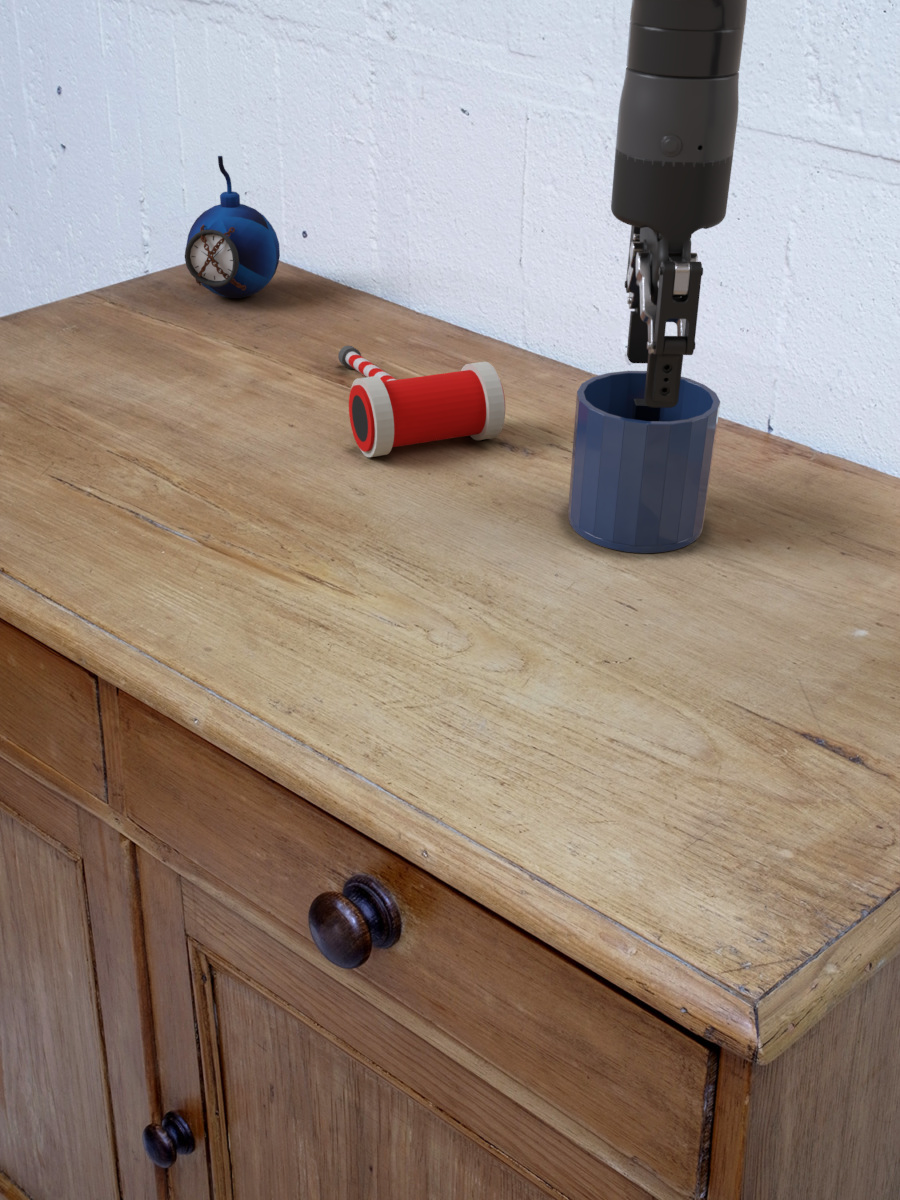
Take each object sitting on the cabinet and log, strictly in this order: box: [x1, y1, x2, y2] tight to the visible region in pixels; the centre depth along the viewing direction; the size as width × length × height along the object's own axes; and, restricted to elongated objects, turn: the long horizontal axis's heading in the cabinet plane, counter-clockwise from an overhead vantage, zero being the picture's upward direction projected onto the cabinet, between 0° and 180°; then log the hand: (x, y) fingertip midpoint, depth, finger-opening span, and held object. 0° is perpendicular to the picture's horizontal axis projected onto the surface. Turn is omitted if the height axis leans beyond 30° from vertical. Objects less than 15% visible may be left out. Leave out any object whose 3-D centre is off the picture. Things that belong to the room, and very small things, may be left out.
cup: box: [567, 370, 721, 554], centre depth 96 cm, size 10×10×10 cm
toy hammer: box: [337, 345, 506, 458], centre depth 114 cm, size 23×12×6 cm, turn 24°
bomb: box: [184, 155, 281, 299], centre depth 138 cm, size 10×11×15 cm
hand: (650, 382), depth 93 cm, fingers open, 8 cm apart
